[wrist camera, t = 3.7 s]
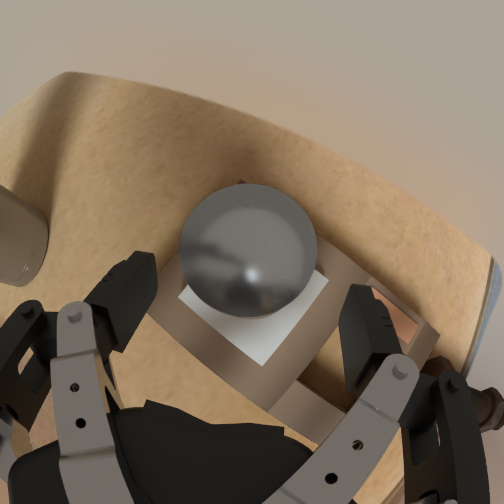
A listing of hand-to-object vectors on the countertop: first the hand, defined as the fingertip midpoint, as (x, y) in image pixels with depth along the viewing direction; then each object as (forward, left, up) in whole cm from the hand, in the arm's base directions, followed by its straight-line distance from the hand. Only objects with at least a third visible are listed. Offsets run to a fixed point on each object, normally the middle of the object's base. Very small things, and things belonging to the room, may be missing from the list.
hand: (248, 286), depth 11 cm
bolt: (+23, +4, -11) cm, 26 cm away
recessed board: (+4, +1, -11) cm, 11 cm away
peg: (0, +1, -7) cm, 7 cm away
